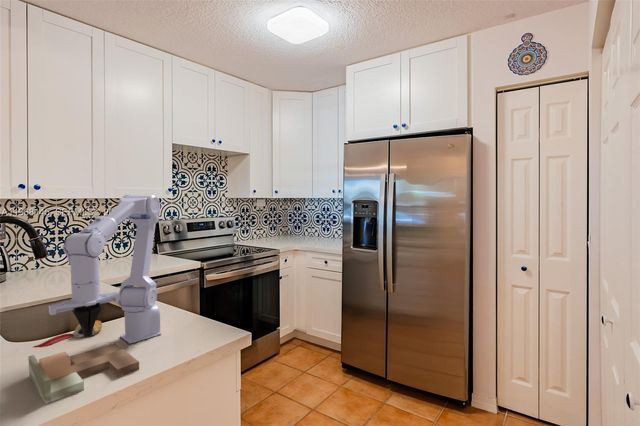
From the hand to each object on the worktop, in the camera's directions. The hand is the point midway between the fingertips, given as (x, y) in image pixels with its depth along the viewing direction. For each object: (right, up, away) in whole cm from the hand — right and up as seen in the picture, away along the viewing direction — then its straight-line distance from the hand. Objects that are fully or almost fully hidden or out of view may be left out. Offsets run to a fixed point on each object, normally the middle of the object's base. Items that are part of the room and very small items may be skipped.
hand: (87, 335), depth 86 cm
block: (-4, -8, -5) cm, 10 cm away
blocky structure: (0, -9, 0) cm, 9 cm away
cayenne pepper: (-21, -9, +18) cm, 29 cm away
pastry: (-16, -8, +24) cm, 30 cm away
